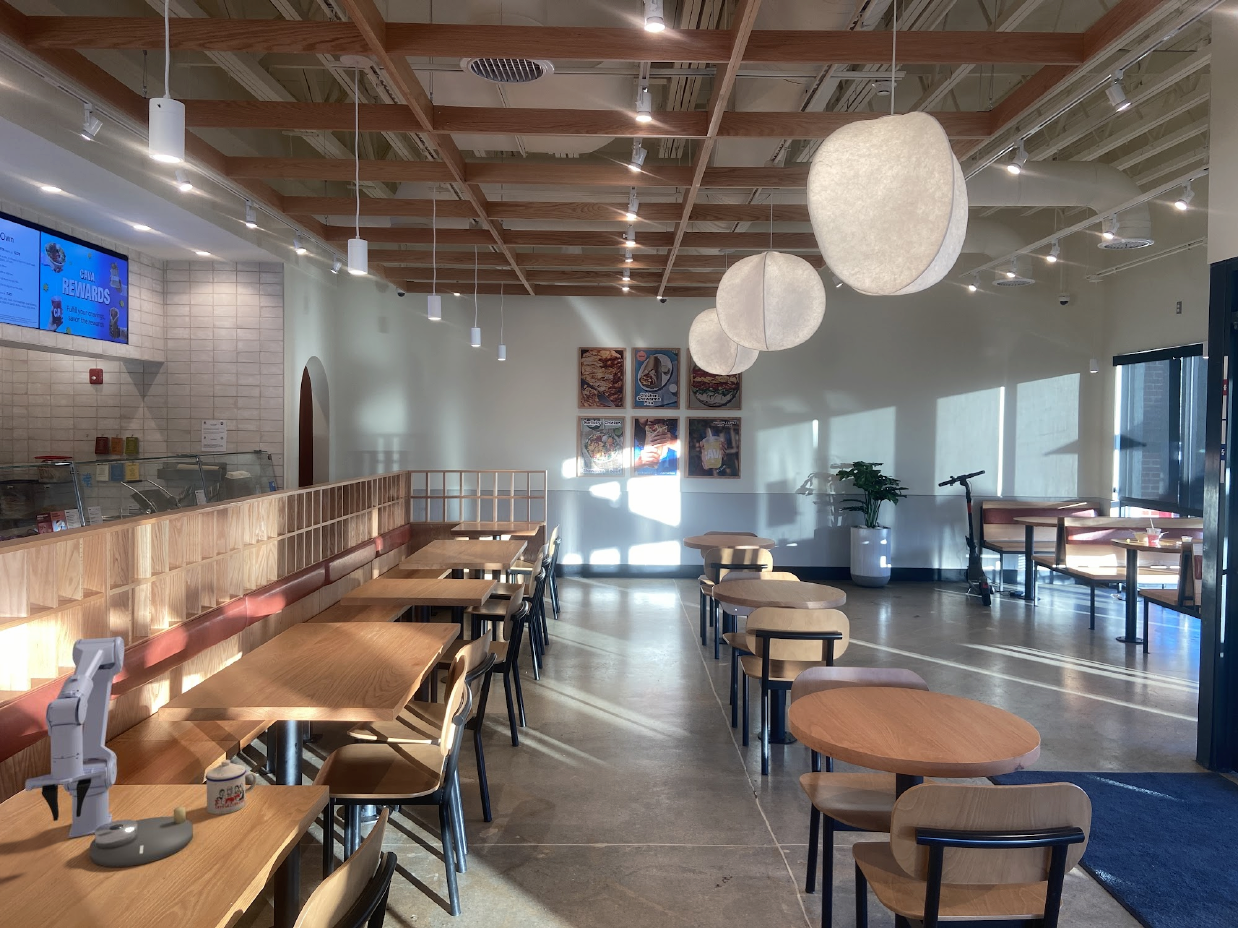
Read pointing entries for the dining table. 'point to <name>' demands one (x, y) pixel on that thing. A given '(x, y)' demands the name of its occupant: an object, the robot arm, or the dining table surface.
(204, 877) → the dining table surface
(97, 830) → the cover
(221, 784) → the teacup with lid
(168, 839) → the turntable
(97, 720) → the robot arm
